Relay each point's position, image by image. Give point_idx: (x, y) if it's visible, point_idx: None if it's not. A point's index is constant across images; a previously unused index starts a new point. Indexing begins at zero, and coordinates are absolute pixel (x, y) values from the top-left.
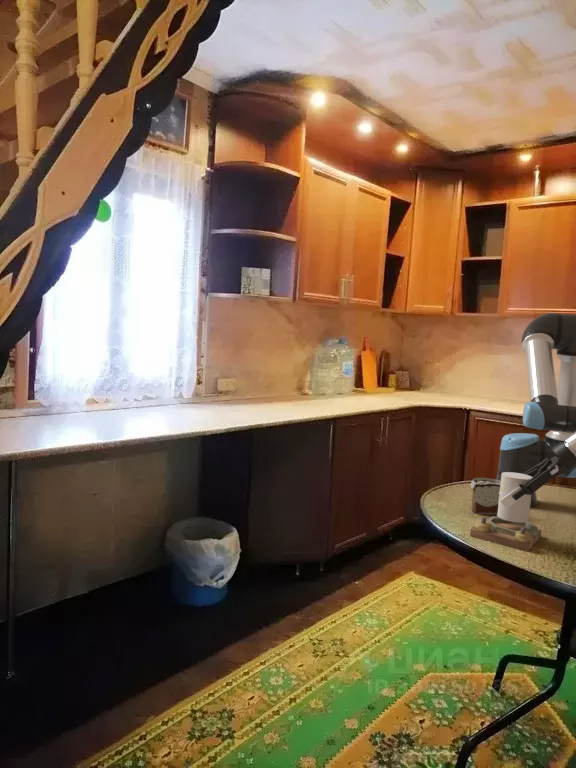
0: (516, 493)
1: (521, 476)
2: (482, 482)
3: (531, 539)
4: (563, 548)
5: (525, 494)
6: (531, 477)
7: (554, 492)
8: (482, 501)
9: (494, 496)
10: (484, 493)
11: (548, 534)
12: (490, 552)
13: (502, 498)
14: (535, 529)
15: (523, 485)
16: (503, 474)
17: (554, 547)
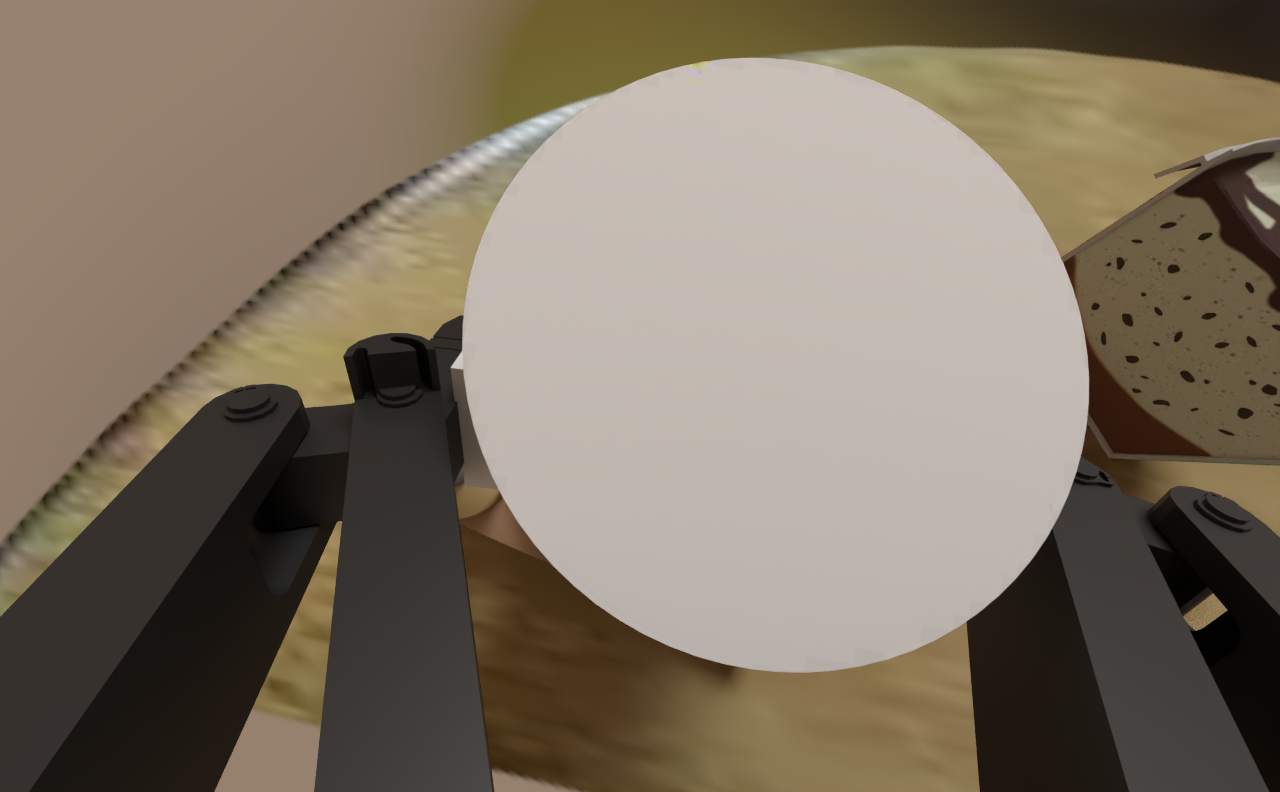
0: (433, 345)
1: (749, 408)
2: None
3: (501, 537)
4: (566, 748)
5: (468, 469)
6: (770, 635)
7: None
8: (1106, 304)
9: (1206, 379)
10: (1178, 289)
11: (817, 706)
12: (331, 291)
13: None
14: None
15: (390, 405)
16: (725, 77)
17: (562, 689)
